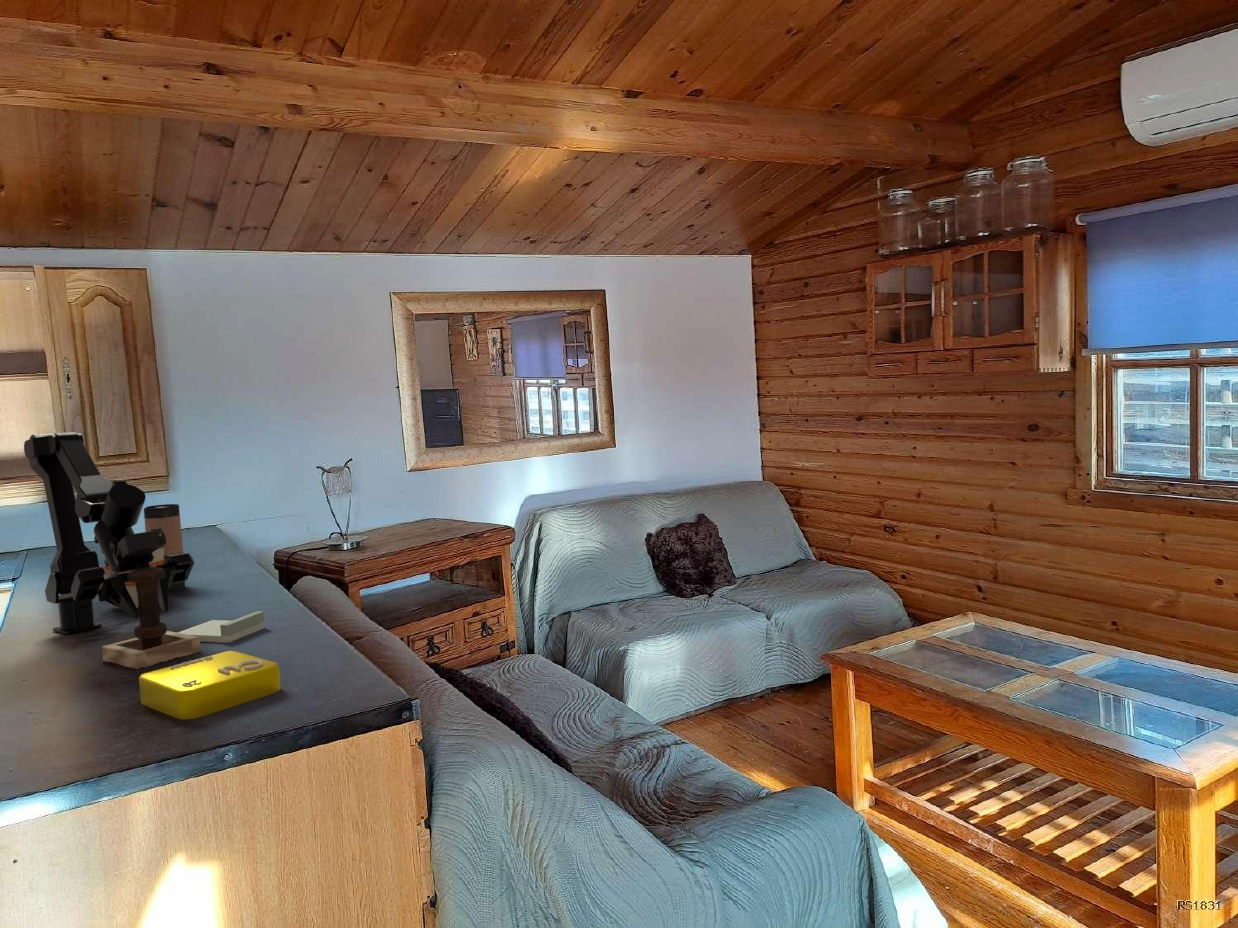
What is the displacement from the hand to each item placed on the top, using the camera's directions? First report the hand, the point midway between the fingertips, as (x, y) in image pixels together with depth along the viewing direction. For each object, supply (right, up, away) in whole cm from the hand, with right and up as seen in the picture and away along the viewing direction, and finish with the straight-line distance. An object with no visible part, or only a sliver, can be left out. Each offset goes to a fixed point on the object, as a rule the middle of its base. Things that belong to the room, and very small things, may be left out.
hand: (152, 613), depth 149 cm
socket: (-1, -8, +1) cm, 8 cm away
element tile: (+20, -9, -21) cm, 30 cm away
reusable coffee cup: (-27, -6, +44) cm, 52 cm away
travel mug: (-28, -4, +59) cm, 66 cm away
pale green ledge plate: (+5, -6, +14) cm, 16 cm away
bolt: (-1, -8, +1) cm, 8 cm away
